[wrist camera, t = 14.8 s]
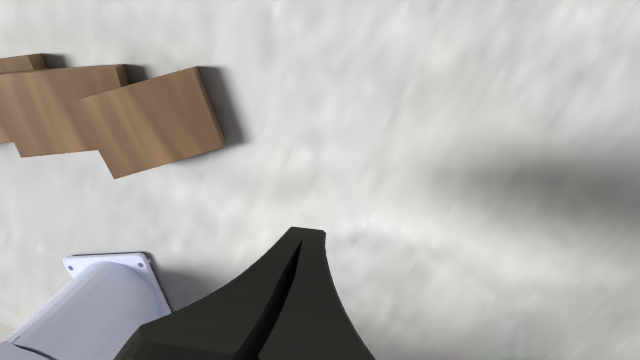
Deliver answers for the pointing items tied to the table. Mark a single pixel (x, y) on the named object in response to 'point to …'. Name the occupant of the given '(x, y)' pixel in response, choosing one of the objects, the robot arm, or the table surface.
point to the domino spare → (151, 122)
